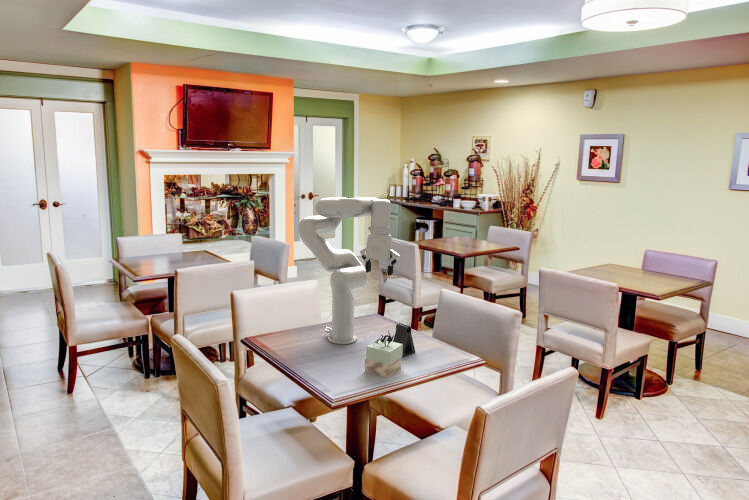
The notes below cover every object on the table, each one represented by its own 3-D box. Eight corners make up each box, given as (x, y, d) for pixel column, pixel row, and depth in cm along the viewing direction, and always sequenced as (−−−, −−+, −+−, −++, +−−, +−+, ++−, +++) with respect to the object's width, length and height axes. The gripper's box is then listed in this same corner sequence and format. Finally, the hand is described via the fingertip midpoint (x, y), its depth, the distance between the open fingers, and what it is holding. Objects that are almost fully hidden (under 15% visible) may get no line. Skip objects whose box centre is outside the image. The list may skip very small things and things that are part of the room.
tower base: (364, 372, 202) (364, 359, 202) (377, 364, 211) (378, 351, 210) (388, 378, 198) (388, 365, 197) (400, 369, 206) (401, 357, 205)
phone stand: (400, 357, 217) (401, 328, 215) (389, 353, 222) (390, 325, 219) (415, 352, 223) (416, 324, 221) (405, 348, 228) (406, 321, 226)
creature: (377, 352, 198) (397, 346, 200) (374, 339, 197) (394, 333, 199) (370, 345, 206) (390, 339, 207) (368, 332, 204) (388, 326, 206)
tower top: (366, 359, 202) (366, 346, 201) (379, 351, 211) (379, 339, 210) (389, 365, 197) (390, 352, 196) (402, 356, 206) (402, 344, 205)
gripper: (356, 229, 213) (355, 272, 216) (395, 234, 205) (394, 278, 208) (365, 227, 220) (364, 269, 223) (404, 231, 212) (402, 274, 215)
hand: (379, 273), depth 216 cm, fingers open, 9 cm apart
